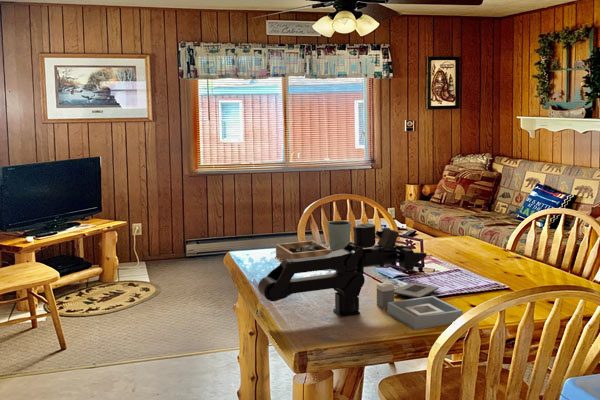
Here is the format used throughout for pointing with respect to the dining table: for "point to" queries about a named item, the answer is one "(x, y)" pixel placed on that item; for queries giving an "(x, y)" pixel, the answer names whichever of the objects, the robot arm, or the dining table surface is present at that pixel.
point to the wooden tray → (284, 253)
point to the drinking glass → (339, 234)
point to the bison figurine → (305, 248)
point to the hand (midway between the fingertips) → (418, 251)
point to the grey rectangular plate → (415, 290)
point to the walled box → (423, 312)
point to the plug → (385, 294)
